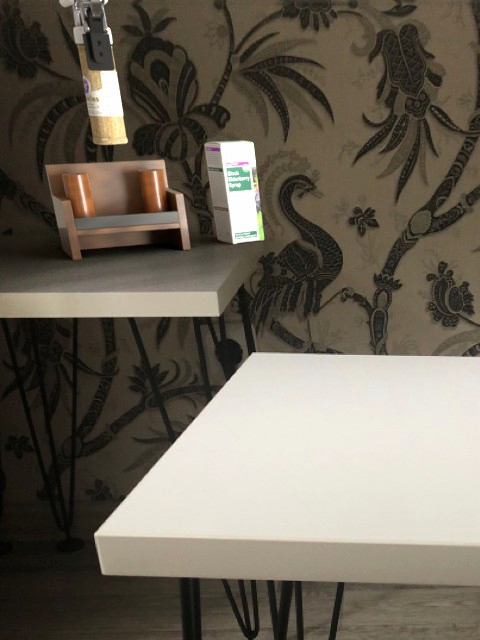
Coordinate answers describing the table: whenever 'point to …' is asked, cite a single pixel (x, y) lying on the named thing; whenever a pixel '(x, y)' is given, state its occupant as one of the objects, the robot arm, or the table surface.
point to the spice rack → (116, 205)
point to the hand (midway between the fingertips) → (98, 68)
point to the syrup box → (234, 191)
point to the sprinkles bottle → (102, 99)
